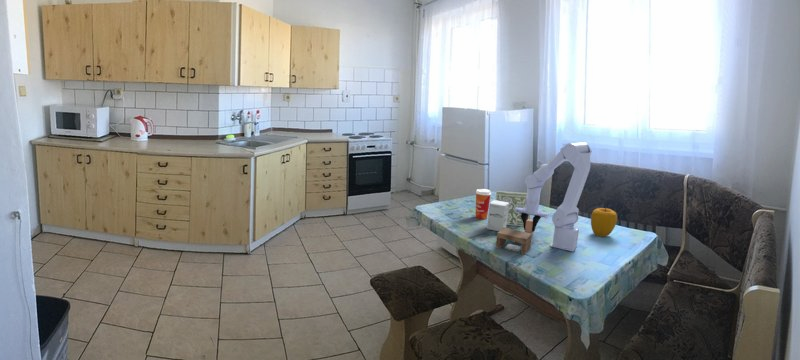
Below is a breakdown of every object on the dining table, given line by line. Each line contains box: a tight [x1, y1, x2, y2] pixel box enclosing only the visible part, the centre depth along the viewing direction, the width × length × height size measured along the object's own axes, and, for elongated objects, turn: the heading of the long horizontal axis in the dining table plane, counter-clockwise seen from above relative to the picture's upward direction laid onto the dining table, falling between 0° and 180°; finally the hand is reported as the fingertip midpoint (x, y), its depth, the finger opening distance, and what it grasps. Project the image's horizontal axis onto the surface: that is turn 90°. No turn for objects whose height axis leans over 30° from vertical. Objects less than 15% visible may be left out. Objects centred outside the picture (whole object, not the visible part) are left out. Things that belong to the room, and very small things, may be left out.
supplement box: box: [486, 199, 510, 232], centre depth 207 cm, size 7×7×13 cm
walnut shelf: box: [495, 227, 533, 255], centre depth 185 cm, size 12×8×6 cm, turn 59°
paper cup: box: [475, 188, 492, 221], centre depth 222 cm, size 8×8×14 cm
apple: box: [590, 207, 618, 238], centre depth 204 cm, size 11×11×13 cm
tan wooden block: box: [513, 218, 534, 245], centre depth 198 cm, size 3×18×6 cm, turn 148°
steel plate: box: [504, 243, 522, 252], centre depth 185 cm, size 5×5×1 cm
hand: (529, 230), depth 204 cm, fingers closed on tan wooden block, 3 cm apart
